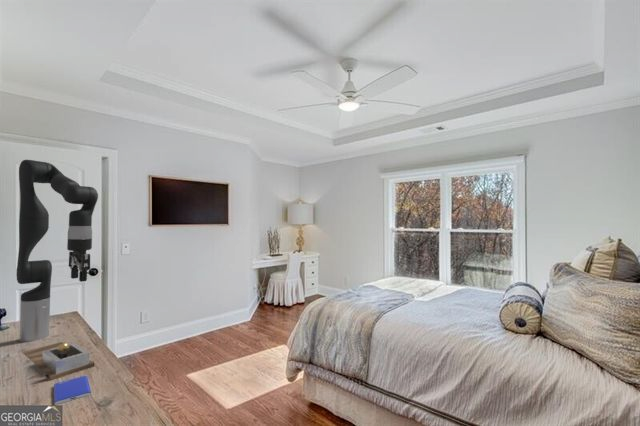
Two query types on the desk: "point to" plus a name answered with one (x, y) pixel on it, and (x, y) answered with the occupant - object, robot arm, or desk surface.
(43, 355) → the grey rectangular frame
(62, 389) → the hard drive
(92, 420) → the desk surface
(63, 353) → the post
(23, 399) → the desk surface
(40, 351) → the brown wooden board
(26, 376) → the desk surface
